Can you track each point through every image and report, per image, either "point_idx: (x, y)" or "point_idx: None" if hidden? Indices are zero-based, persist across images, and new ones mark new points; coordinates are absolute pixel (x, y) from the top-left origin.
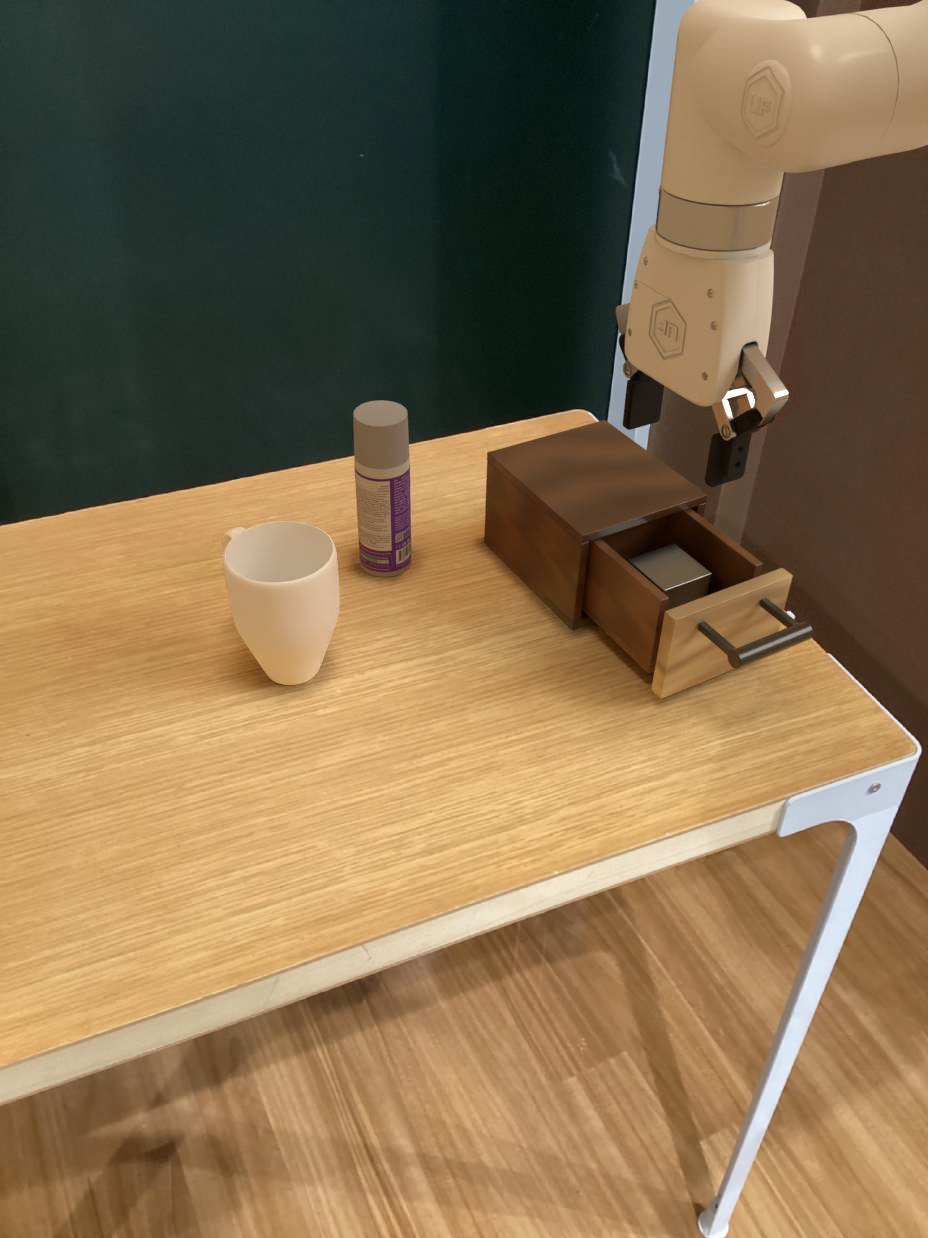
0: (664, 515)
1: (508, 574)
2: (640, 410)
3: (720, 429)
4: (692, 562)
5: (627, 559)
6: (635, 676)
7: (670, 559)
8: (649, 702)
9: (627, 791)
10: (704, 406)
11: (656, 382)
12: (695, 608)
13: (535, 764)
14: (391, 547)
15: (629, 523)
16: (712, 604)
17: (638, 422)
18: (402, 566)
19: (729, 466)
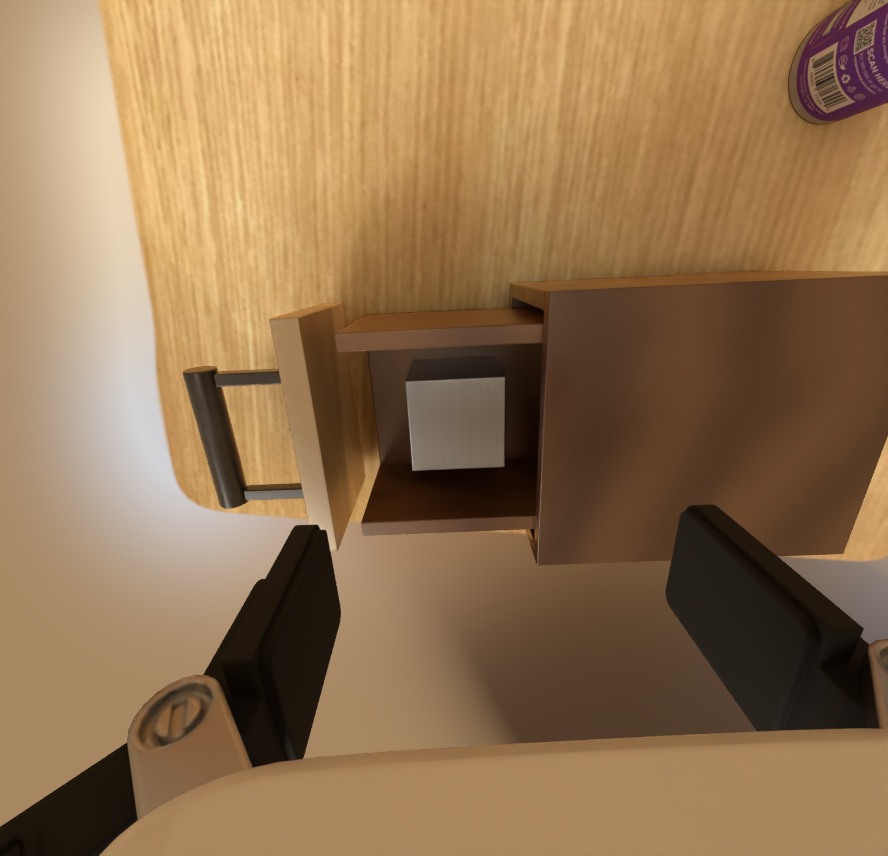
0: (537, 478)
1: (670, 265)
2: (711, 575)
3: (214, 705)
4: (448, 462)
5: None
6: (391, 310)
7: (471, 437)
8: (340, 297)
9: (201, 167)
10: (194, 788)
11: (765, 702)
12: (288, 372)
13: (284, 61)
14: (852, 24)
15: (542, 406)
16: (289, 404)
17: (686, 545)
18: (799, 78)
19: (244, 605)
